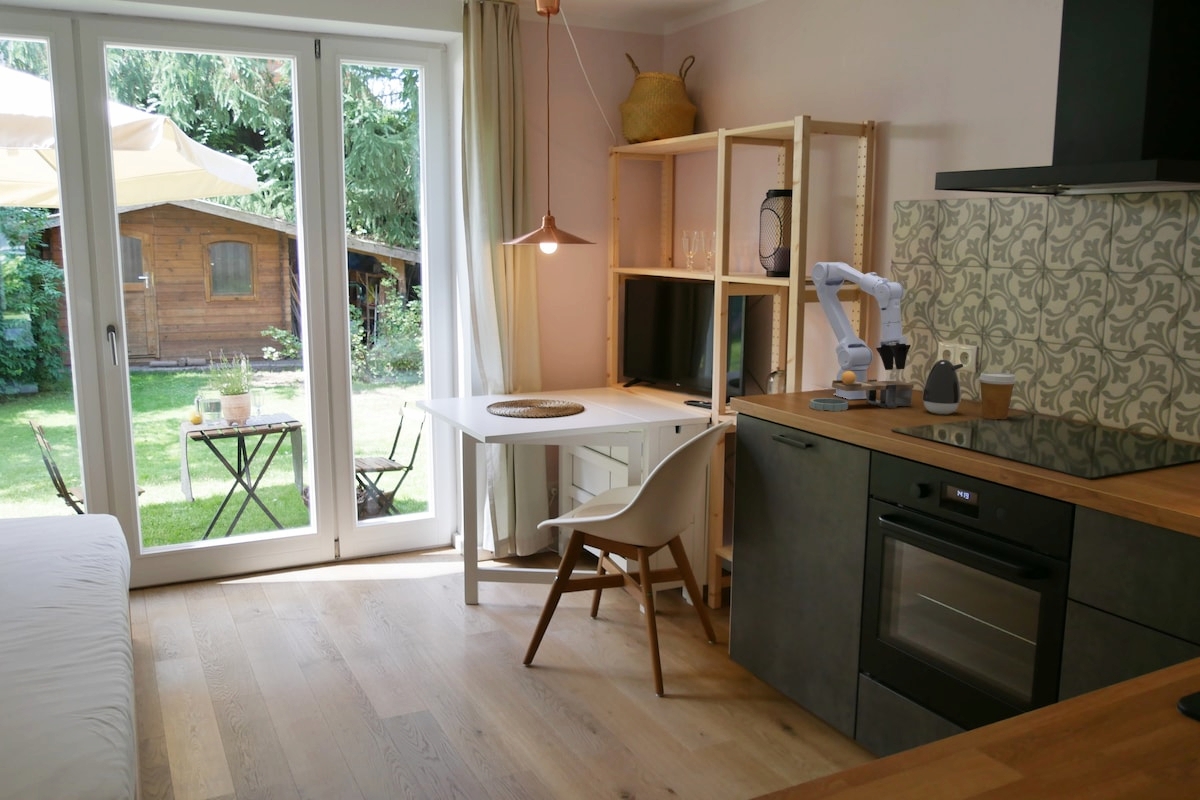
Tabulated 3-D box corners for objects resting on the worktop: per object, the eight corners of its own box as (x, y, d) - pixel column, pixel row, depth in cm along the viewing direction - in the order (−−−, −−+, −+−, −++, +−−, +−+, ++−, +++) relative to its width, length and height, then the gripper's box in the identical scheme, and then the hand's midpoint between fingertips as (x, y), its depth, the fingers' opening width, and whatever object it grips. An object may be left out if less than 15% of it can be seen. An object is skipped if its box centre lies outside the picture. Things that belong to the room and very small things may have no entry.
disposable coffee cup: (1020, 420, 266) (1024, 376, 264) (990, 421, 264) (993, 377, 262) (998, 413, 275) (1001, 371, 273) (968, 415, 273) (971, 372, 271)
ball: (838, 383, 285) (839, 370, 284) (850, 383, 286) (851, 369, 285) (845, 385, 281) (846, 372, 280) (858, 385, 282) (858, 371, 281)
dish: (803, 405, 286) (803, 398, 286) (835, 404, 289) (836, 397, 289) (821, 411, 276) (821, 404, 276) (854, 410, 279) (855, 403, 279)
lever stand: (893, 401, 295) (894, 378, 294) (915, 407, 285) (916, 383, 283) (866, 402, 293) (867, 379, 291) (887, 408, 282) (888, 384, 281)
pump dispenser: (953, 417, 269) (957, 362, 267) (916, 413, 275) (919, 359, 273) (965, 412, 277) (969, 359, 275) (928, 408, 283) (932, 356, 281)
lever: (896, 399, 293) (897, 377, 292) (912, 403, 286) (913, 381, 285) (831, 402, 287) (832, 380, 286) (845, 406, 280) (846, 384, 279)
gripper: (915, 320, 280) (919, 367, 280) (893, 324, 294) (896, 369, 294) (892, 322, 279) (895, 369, 279) (871, 325, 293) (874, 370, 293)
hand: (894, 369), depth 287 cm, fingers open, 7 cm apart
